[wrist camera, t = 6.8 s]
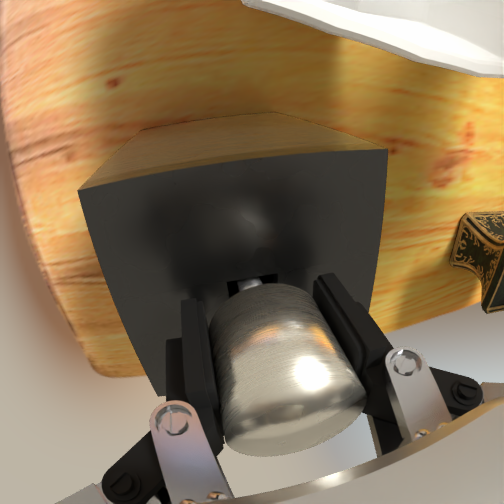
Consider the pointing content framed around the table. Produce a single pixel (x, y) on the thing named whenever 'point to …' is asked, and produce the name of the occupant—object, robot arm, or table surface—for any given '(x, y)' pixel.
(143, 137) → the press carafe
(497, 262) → the decorative box
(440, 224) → the table surface
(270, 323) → the plunger
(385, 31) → the bowl
